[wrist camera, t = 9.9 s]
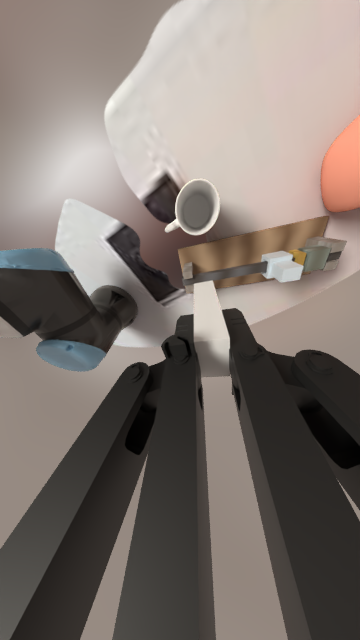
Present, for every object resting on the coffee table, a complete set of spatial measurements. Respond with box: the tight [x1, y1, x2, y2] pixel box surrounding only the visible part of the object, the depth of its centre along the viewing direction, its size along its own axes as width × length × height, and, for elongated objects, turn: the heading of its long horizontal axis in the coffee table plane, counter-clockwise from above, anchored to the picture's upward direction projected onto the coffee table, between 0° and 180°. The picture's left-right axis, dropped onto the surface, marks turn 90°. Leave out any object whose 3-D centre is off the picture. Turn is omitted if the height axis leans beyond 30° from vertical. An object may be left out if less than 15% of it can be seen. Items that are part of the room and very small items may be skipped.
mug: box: [165, 179, 220, 235], centre depth 26 cm, size 10×7×12 cm, turn 117°
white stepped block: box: [261, 251, 304, 283], centre depth 28 cm, size 4×4×8 cm
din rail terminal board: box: [178, 216, 347, 293], centre depth 32 cm, size 32×12×9 cm, turn 102°
